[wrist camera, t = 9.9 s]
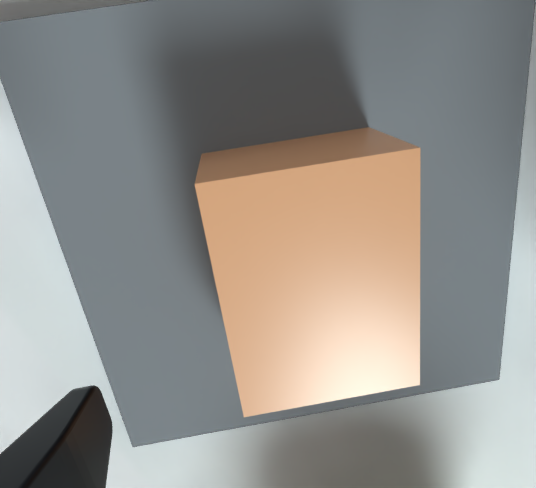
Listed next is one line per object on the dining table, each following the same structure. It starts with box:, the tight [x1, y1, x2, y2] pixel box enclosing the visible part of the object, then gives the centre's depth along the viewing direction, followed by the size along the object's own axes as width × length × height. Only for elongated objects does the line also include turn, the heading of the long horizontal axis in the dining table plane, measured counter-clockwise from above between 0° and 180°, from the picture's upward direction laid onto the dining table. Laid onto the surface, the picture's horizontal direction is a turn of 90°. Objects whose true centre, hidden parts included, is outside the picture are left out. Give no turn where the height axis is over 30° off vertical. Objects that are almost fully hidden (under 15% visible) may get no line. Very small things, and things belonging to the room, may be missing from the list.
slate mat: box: [0, 0, 535, 447], centre depth 14 cm, size 14×14×1 cm
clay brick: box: [195, 127, 420, 417], centre depth 12 cm, size 5×6×3 cm
